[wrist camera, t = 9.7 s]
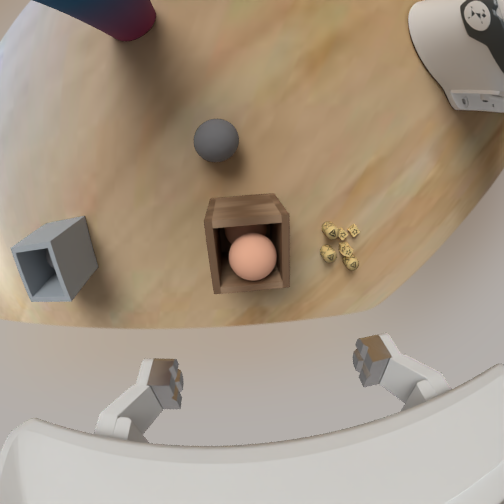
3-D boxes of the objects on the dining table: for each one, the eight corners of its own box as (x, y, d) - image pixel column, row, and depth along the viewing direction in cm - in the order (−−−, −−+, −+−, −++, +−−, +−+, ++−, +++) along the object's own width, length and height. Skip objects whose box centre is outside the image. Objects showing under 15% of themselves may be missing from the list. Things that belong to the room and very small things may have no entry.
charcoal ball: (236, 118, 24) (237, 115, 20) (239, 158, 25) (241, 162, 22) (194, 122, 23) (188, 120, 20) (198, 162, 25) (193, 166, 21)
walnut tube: (273, 193, 27) (289, 214, 20) (275, 251, 30) (289, 287, 23) (210, 198, 27) (203, 221, 20) (216, 256, 29) (214, 294, 23)
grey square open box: (84, 216, 26) (50, 241, 19) (98, 266, 29) (71, 301, 22) (45, 223, 26) (10, 248, 19) (60, 270, 28) (31, 301, 22)
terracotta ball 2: (275, 222, 22) (285, 271, 21) (267, 238, 26) (276, 280, 25) (225, 229, 21) (233, 279, 20) (225, 244, 25) (232, 287, 24)
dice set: (350, 263, 32) (357, 271, 30) (312, 259, 31) (317, 267, 29) (362, 224, 30) (369, 230, 28) (322, 218, 29) (328, 224, 27)
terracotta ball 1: (262, 206, 28) (267, 204, 24) (265, 244, 28) (270, 249, 24) (223, 209, 27) (221, 208, 23) (226, 248, 28) (225, 253, 24)
